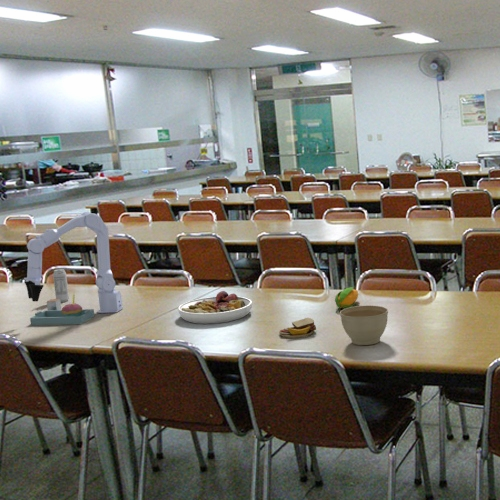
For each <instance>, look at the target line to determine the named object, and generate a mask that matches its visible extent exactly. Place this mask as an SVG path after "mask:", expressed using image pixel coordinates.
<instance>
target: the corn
mask: <svg viewBox="0 0 500 500" xmlns="http://www.w3.org/2000/svg"><path fill="white" fill-rule="evenodd" d="M358 298H359V293H358V290H357V289H354V286H350V287H347V288H344V289H343V290H342V291H339V292H338V293H337V294H336V295H335V298H334V303H335V305H336V307H337V308H338V309H339V310H341V309H346V308H350V307H354V306H355V305H356V302H357V301H358Z"/></svg>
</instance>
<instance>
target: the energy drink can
mask: <svg viewBox="0 0 500 500" xmlns="http://www.w3.org/2000/svg"><path fill="white" fill-rule="evenodd" d="M52 276H53V277H52V278H53V284H54V286H53V287H54V292H55V293H54V294H55V299H60V302H61V303H65V302H68V301H69V300H70V295H69V289H68V288H69V287H68V278H67V272H66V270H65V269H64V268H59V269H55V270H53V273H52Z"/></svg>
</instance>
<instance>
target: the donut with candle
mask: <svg viewBox="0 0 500 500" xmlns="http://www.w3.org/2000/svg"><path fill="white" fill-rule="evenodd" d="M82 309H83V307H82V306H81V304H78V303H75V293H73V294H72V303H69V304H65V305H64V306H63V307H61V310H62V314H64V315H65V316H66V317H75V316H80V313H81V312H82Z"/></svg>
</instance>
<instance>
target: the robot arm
mask: <svg viewBox="0 0 500 500" xmlns="http://www.w3.org/2000/svg"><path fill="white" fill-rule="evenodd" d="M85 227H86V228H89V229H90V230H92V232H94V233H95V234H96V247H97V265H98V266H97V267H98V270H97V272H96V274H97V276H96V279H95V285H96V287H97V288H98V290H97V294H98V295H97V296H98V305H99V310H97V311H96V314H102V313H103V314H105V313H107V314H108V313H110V314H111V313H118V312H119V311H121V310H123V309H124V306H123V298H122V293H121V291H120V290H115V287H116V280H115V278H114V275H113V272H112V270H111V256H110V238H109V235H110V234H109V228H108V226H107V224H105V222H104V221H103V219H102V217H101V216H99V215H98V214H97V213H91V212H89V211H84V212H82V213H81V214H78V215H77V216H75V217H73V218H71V219H69V220H68V221H67V222H65V223H64V224H63V225H60V226H59V227H57V228H56V229H55V228H50V229H49V228H46V229H45V231H44V232H43V233H41V234H40V235H35V237H36V238H31V239H29V240H28V242H27V244H26V248H27V249H28V254H27V271H26V273H27V274H26V277H24V278H23V280H25V281H24V284H25V287H26V290H27V296H28V299H31V300H32V302H38V301H39V298H40V295H41V292H42V290H43V288H44V285H43V284H41V281H42V280H43V278H42V271H43V269H42V268H43V252H44V250H45V249H46V248H48V247H50V246H52V245H53V244H55V243H57V242H58V241H59V240H60V237H61V236H63V235H64V234H66V233H69V232H70V231H72V230H74V229H76V228H85Z"/></svg>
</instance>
